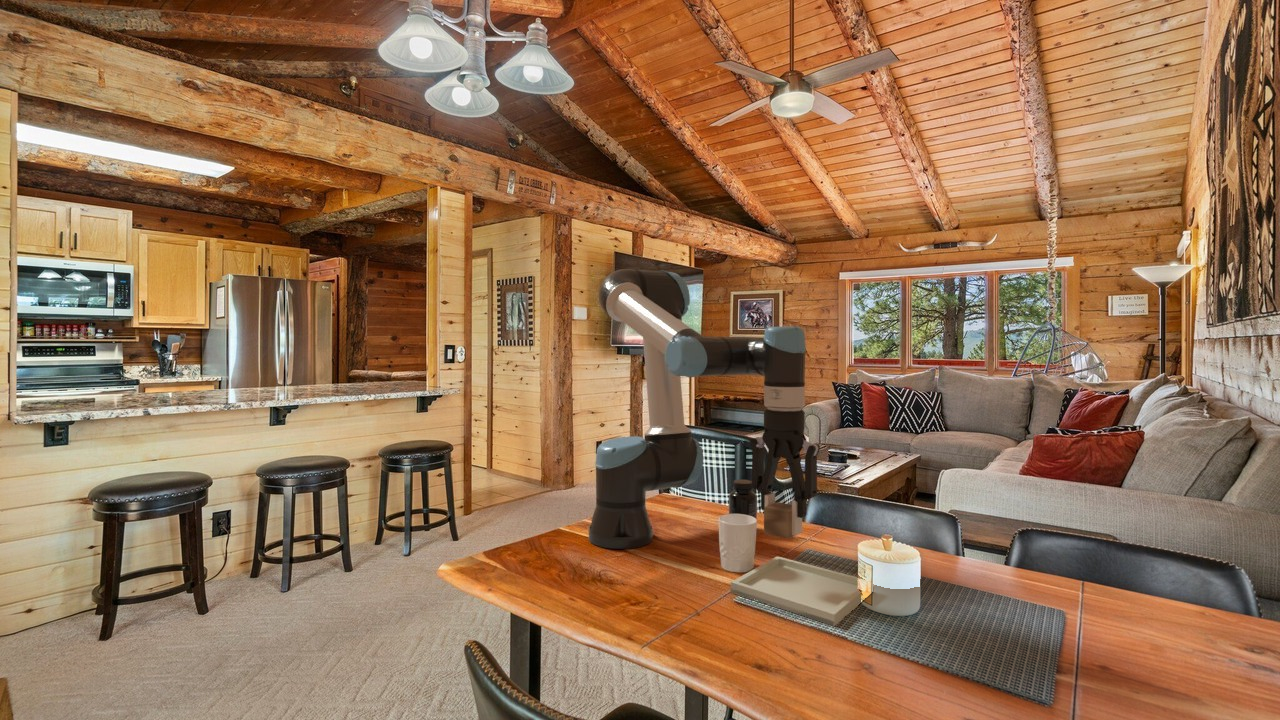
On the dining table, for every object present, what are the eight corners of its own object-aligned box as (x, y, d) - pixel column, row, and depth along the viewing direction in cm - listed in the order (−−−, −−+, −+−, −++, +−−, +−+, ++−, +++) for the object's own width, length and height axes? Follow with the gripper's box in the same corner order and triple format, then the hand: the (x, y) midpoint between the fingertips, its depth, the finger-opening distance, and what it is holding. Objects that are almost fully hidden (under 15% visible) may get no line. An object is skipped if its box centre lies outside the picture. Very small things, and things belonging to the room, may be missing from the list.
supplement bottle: (753, 525, 155) (753, 478, 154) (759, 534, 148) (760, 484, 147) (726, 525, 154) (726, 478, 154) (731, 534, 147) (732, 485, 147)
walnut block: (763, 533, 115) (764, 507, 115) (776, 527, 119) (776, 502, 119) (788, 538, 112) (788, 511, 112) (800, 532, 116) (800, 506, 116)
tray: (730, 592, 114) (730, 582, 113) (777, 565, 127) (777, 556, 127) (834, 626, 100) (834, 614, 100) (873, 592, 114) (874, 581, 114)
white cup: (759, 574, 123) (760, 525, 122) (720, 573, 123) (720, 524, 122) (753, 560, 130) (753, 513, 130) (716, 559, 131) (716, 513, 130)
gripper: (732, 406, 118) (731, 525, 119) (820, 414, 106) (819, 546, 107) (752, 403, 124) (751, 517, 125) (838, 410, 112) (837, 535, 113)
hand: (783, 530), depth 116 cm, fingers closed on walnut block, 5 cm apart
